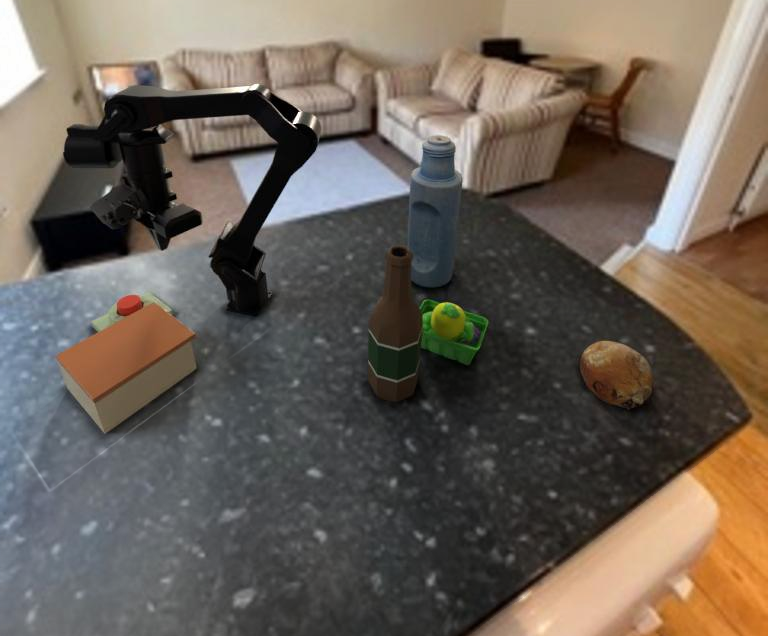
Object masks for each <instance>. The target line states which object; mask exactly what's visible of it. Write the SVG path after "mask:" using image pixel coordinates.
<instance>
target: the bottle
mask: <svg viewBox="0 0 768 636" xmlns="http://www.w3.org/2000/svg"><path fill="white" fill-rule="evenodd" d="M421 149H422V157H421V161H420V166H418V167H417V168H415V169H413V170H412V172H411V174H410V183H409V186H410V187H409V200H408V225H407V245H406V247H408V248H409V249H410V250H411V251H412V253H413V257H414V258H413V260H412V263H411V283H413V284H415V285H417V286H419V287H421V288H422V287H423V288H429V289H433V288H439V287H443V286H445V285H447V284H449V282H450V281H451V280H452V278H453V273H454V272H453V271H454V262H455V261H454V260H455V251H456V245H457V236H458V235H457V234H458V225H459V216H460V209H461V199H462V189H463V182H464V180H463V179H464V178H463V175H462V173H461V172H460V171H458V170H457V169H456V164H455V154H456V150H457V147H456V144H455V142H454V141H452V139H451V138H450V137H448V136H446V135H441V134H435V135H431V136H428V137H427V139H425V140H424V141H423V142H422V144H421Z"/></svg>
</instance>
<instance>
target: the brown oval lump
mask: <svg viewBox="0 0 768 636" xmlns="http://www.w3.org/2000/svg"><path fill="white" fill-rule="evenodd" d="M579 365H580V366H579V367H580V373H581V377H582V378H583V381H584V383H585V385H586V387H587V388H588V389H589V391H590V392H591V393H592V394H593V395H594V396H595V397H596V398H598V399H599V400H600V401H602V402H604V403H606V404H608V405H611V406H616V407H619V408H622V409H627V410H631V409H633V408H636V407H641V406H642V405H643V404H644V402H645V401H646V400H647V399H648V398H649V397H650V396H651V394H652V393H653V386H654V375H653V374H654V373H653V370H652V368H651V366H650V363H649V362H648V360H647V359H646V358H645V357H644V356H643V355H641V353H639V352H637V351H636V350H635V349H633V348H631V347H630V346H627V345H626V344H623V343H621V342H616V341H613V340H612V341H611V340H600V341H597V342H595V343H592V344H590V345H588V346H587V348H586V349H585V350H584V351H583V352H582V355H581V359H580V364H579Z"/></svg>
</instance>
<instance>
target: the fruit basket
mask: <svg viewBox="0 0 768 636" xmlns="http://www.w3.org/2000/svg"><path fill="white" fill-rule="evenodd" d="M419 308H420V311H421V313H422V316H423V330H422V342H421V349H423V350H428V351H430V352H431V353H433V354H437V355H441V356H443V357H445V358H447V359H450V360H453V361H457V362H458V363H460V364H463V365H466V366H469V365H470V364H471V363H472V361H473V359H474V357H475V355H476V353H477V352H479V350H480V348H481V346H482V342H483V339H484V336H485V334H486V331H487V328H488V325H489V320H488V319H487V318H486V317H484V316H481V315H478V314H475V313H471V312H469V311H465V310H463V309H462V308H461V307H460V306H459V305H458V304H455V303H452V302H447V301H446V302H437V301H435V300H432V299H424V300H423V302H422V303H421V305H420V306H419Z"/></svg>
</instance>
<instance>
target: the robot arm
mask: <svg viewBox="0 0 768 636" xmlns="http://www.w3.org/2000/svg"><path fill="white" fill-rule="evenodd" d="M103 111H104V112H103V113H104V116H103V118H102V120H101V122H100V123H99V125H87V124H82V123H74V124H72V125H70V126H69V127H66V129H65V130H66V133H67V134H66V135H67V136H66V138H65V141H64V144H63V152H62V155H63V159H64V161H65V162H66V164H67V165H68V166H69V168H72V169H114V168H116V167H117V166H118V164H119V163H121V162H123V166H124V171H125V173H122V174H120V175H121V177H119V180H120V184H118V185H116V186H113V187H112V188H111V189H110V191H108V192H107V193H106V194H105V195H103V196H101V197H100V198H98V199H97V200H96V201H94V202H93V203H92V204H91V205H90V210H91V211H92V213H94V215H95V216H96V217H97V218H98V219H99V220H100V221H101V223H102V224H104V225H105V226H107V227H108V228H110V229H111V230H116V229H119V228H121V227H122V226H123V225H127V224H128V223H129V222H131V221H132V220H134V221H135V222H138V223H139V224H140V225H141V226H143V227H145V229H146V230H147V232H148V233H149V236H150V237H151V239H152V240H153V242H154V243H155V245H156V247H157V249H158V250H160V251H162V252H163V251H165V250H168V247H169V245H170V242H171V240H172V239H173V238H176V237H177V236H179V235H182V234H184V233H186V232H189V231H191V230H193V229H195V228H198V227H199V226H202V225H203V223H204V221H203V215H202V212H201V211H200V210H198V209H196V208H194V207H192V206H190V205H188V204H186V203H184V202H182V203H180V204H177V203H175V202H173V201H176V200H178V195H177V193H176V192H173V191H172V190H171V187H170V182H169V179H171V178H173V177H174V176H173V171H172V170H170V169H168V168H167V166H166V162H165V156H164V151H163V146H162V145H165V144H166V143H168V142H169V141H171V139H172V138H173V137H175V134H174V132H173V131H171V130H170V129H167V128H166V127H164V126H163V124H165V123H169V122H173V121H183V120H195V119H196V120H197V119H198V120H199V119H210V118H211V119H212V118H213V119H214V118H225V117H240V116H241V117H243V116H249V117H250V118H251V119H253V120H254V121H255V122H256V123H257V124H258V126H260V128H261V129H262V130H263V131H264V132H265V133H266V134H267V136H269V137H270V138H271V139H273V140H274V141H275V142H276V143H277V146H276V147H275V148H276V149H275V151H274V155H273V158H272V161H271V163H270V166H269V167H268V169H267V171H266V172H265V175H264V177H263V178H262V180H261V182H260V184H259V186H258V187H257V189H256V191H255V193H254V194H253V196H252V198H251V200H250V201H249V203H248V205H247V206H246V209H244V212H243V214H242V216H241V218H240V219H239V220H238V221H237V222H236V223H235V224H233V223H232V222H230V221H226V223H225V226H224V228H223V229H222V231H221V233H220V234H219V235H218V238H217V239H216V241H215V243H214V245H213V247H212V248H211V251H210V253H209V255H208V258H210V259H211V260H210V263H209V267H210V269H211V271H212V272H213V273H214V274H215V275H216V276H218V278H219V279H220V281H221V283H222V284H223V286H224V288H225V291H226V297H227V301H228V303H227V304H226V305H225V307H224V309H225V311H227V312H232V313H236V314H237V313H238V314H241V315H246V316H252V317H257V316H259V314H260V313H261V312H262V310H263V309H264V307H265V306H266V305H267V304H268V302H269V301H270V299H271V298H272V296H273V295H274V294H273V291H270V290H268V281H267V273H266V272H263V271H262V267H263V265H264V262H265V259H266V253H267V252H265V251H264V250H263V249H261V248H260V247H258V246H257V245H256V244H255V242H256V239H257V236H258V234H259V232H260V230H261V229H262V228H263V226H264V224H265V223H266V220H267V218H268V217H269V216H270V214H271V212H272V210H273V208H274V207H275V205H276V203H277V202H278V200H279V198H280V196H281V195H282V193H283V191H284V190H285V188H286V186H287V184H288V183H289V181H290V180H291V178H292V176H293V175H294V174H296V173H297V171H299V170H301V168H302V167H304V165H306V163H307V162H308V161H309V160H310V158H311V157H312V156H313V155H314V154H315V153H316V151H317V148H318V146H319V141H320V137H321V133H322V126H321V123H320V121H319V119H318V118H317V117H316V115H314V114H313V113H310V112H308V111H302V110H301V109H300V108H299V107H297V106H296V105H295V104H293V103H292V102H291V101H288V100H286V99H285V98H283V97H281V96H279V95H277V94H276V93H274V92H272V90H270V89H269V88H267V86H265V85H263V84H260V83H255V84H251V85H246V86H233V87H232V86H231V87H219V88H217V87H216V88H203V89H190V90H170V89H167V88H163V87H159V86H153V85H141V84H134V85H130V86H128V87H126V88H125V89H123V90H121V91H119V92H117V93H115V94H113V95H110V96H109V97H108V98H107V99H106V101H105V103H104V107H103ZM152 128H153V129H152Z"/></svg>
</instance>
